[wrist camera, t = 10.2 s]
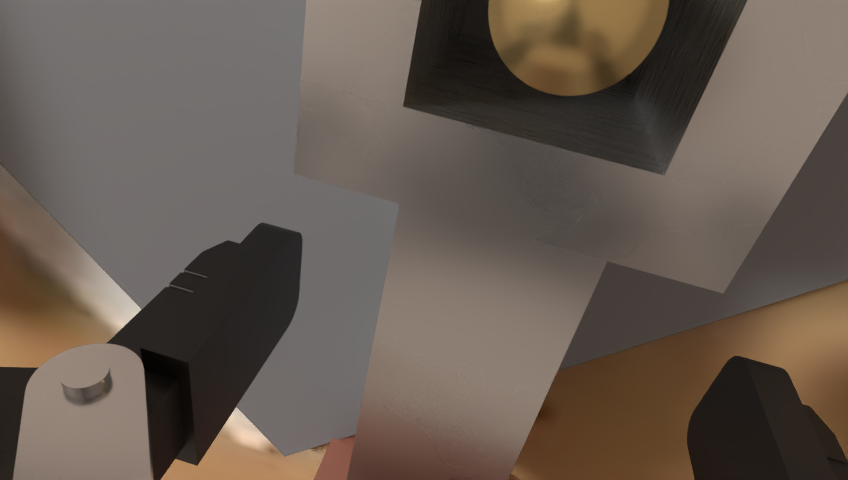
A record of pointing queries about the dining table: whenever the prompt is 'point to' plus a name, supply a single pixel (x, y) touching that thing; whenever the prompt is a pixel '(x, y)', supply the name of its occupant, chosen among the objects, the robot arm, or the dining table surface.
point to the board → (298, 189)
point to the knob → (574, 40)
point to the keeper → (336, 460)
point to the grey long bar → (543, 195)
